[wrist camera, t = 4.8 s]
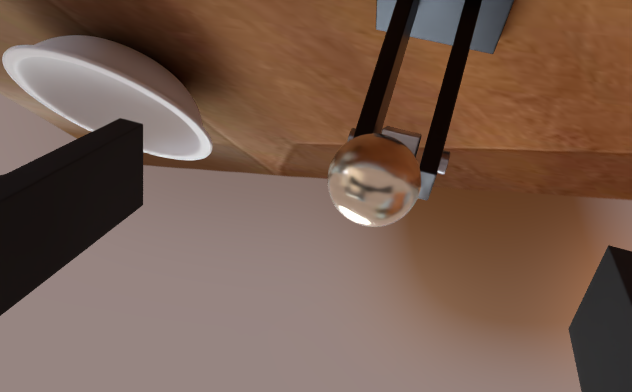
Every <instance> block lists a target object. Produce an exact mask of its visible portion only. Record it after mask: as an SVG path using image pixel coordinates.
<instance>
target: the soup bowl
mask: <svg viewBox="0 0 632 392" xmlns="http://www.w3.org/2000/svg"><path fill="white" fill-rule="evenodd" d="M2 61H3V65H4V68H5V69H6V71H7V73H8V74H9V75H10V77H11V78H12V79H13V80H14V81H15V82H16V83H17V84H18V85H19V86H20V87H21V88H22V89H24V90H25V91H26V92H27V93H28V94H30V95H31V96H32V97H34V98H35V99H36V100H38V101H39V102H40V103H42V104H43V105H45V106H46V107H48V108H49V109H51V110H53V111H54V112H56V113H57V114H59V115H61V116H62V117H64V118H66V119H68V120H70V121H71V122H73V123H75V124H77V125H79V126H81V127H83V128H85V129H87V130H89V131H91V132H93V131H95V130H97V129H99V128H101V127H103V126H105V125H107V124H109V123H111V122H113V121H115V120H117V119H119V118H122V119H126V120H130V121H134V122H138V123H141V124H143V152H145V153H149V154H153V155H157V156H161V157H166V158H171V159H178V160H199V159H203V158H205V157H207V156H208V155H209V154H210V153H211V151H212V147H213V144H212V140H211V138H210V136H209V134H208V133H207V131H206V130H205V129H204V127H203V124H202V119H201V115H200V112H199V110H198V107H197V105H196V103H195V101H194V100H193V98H192V96H191V95H190V93H189V92H188V90H187V89H186V88H185V86H184V85H183V84H182V83H181V82H180V81H179V80H178V79H177V78H176V77H175V76H174V75H173V74H172V73H171V72H169V71H168V70H167V69H166V68H164V67H163V66H162V65H160V64H159V63H157V62H156V61H154V60H152V59H151V58H149V57H147V56H146V55H144V54H142V53H140V52H138V51H136V50H134V49H132V48H129V47H127V46H125V45H122V44H119V43H116V42H113V41H110V40H107V39H103V38H98V37H93V36H84V35H69V36H60V37H55V38H51V39H48V40H45V41H42V42H39V43H37V44H35V45H18V46H13V47H11V48H9V49H7V50H6V51H5V53H4V54H3V58H2Z"/></svg>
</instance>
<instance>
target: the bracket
mask: <svg viewBox="0 0 632 392" xmlns="http://www.w3.org/2000/svg"><path fill="white" fill-rule="evenodd" d="M513 3H514V0H377V10H376V29H377V30H381V31H386V36H385V39H384V42H383V45H382V48H381V51H380V54H379V58H378V61H377V64H376V67H375V70H374V73H373V77H372V80H371V83H370V86H369V89H368V92H367V96H366V99H365V102H364V105H363V108H362V111H361V114H360V118H359V121H358V124H357V127H356V129H355V128H352V129H351V131H350V134H349V137H348V141H350V140H351V139H353V138H355V137H358V136H361V135H365V134H372V133H376V134H380V133H381V130H382V127H383V123H384V120H385V117H386V113H387V110H388V107H389V104H390V100H391V97H392V94H393V90H394V87H395V84H396V80H397V77H398V74H399V70H400V67H401V64H402V60H403V57H404V54H405V50H406V47H407V44H408V40H409V37H414V38H419V39H424V40H429V41H433V42H438V43H443V44H448V45H452V50H451V53H450V57H449V61H448V64H447V68H446V72H445V75H444V79H443V83H442V86H441V90H440V94H439V97H438V101H437V105H436V108H435V112H434V116H433V119H432V123H431V127H430V130H429V134H428V138H427V141H426V145H425V149H424V152H423V156H422V160H421V163H420V172H421V188H420V193H419V196H418V198H420V199H424V200H428V198H429V195H430V192H431V190H432V187H433V184H434V181H435V178H436V175H437V173H439V174H443V175H444V174H445V172H446V169H447V165H448V161H449V158H450V152H449V151H445V150H443V149H444V145H445V141H446V137H447V133H448V130H449V126H450V122H451V118H452V114H453V110H454V107H455V103H456V99H457V95H458V91H459V87H460V84H461V80H462V76H463V72H464V68H465V64H466V61H467V57H468V53H469V49H471V50H476V51H481V52H485V53H490V54H493V53H494V51H495V48H496V46H497V43H498V41H499V38H500V36H501V33H502V31H503V28H504V26H505V23H506V20H507V18H508V15H509V13H510V10H511V8H512V5H513ZM348 141H347V142H348Z"/></svg>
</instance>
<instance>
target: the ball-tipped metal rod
mask: <svg viewBox="0 0 632 392" xmlns="http://www.w3.org/2000/svg"><path fill="white" fill-rule="evenodd" d="M420 139H421V134H418V133H414V132H410V131H406V130H401V129H397V128H393V127H389V126H387V127H385V128H383V129H382V132H381V134H376V133H372V134H365V135H361V136H358V137H355V138H353V139H351V140H350V141H348V142H347V143H345V144H344V145H343V146H342V147H341V148H340V149H339V150H338V151H337V153H336V154H335V156H334V157H333V159H332V161H331V164H330V167H329V171H328V182H327V183H328V190H329V194H330V197H331V199H332V201H333V203H334V205H335V206H336V208H337V209H338V210H339V211H340V212H341V213H342V214H343V215H344V216H345V217H346V218H348V219H349V220H351V221H353V222H355V223H357V224H360V225H363V226H369V227H379V226H385V225H388V224H392V223H393V222H396V221H397V220H399V219H401V218H402V217H403V216H405V215H406V214H407V213H408V212H409V211H410V210H411V208H412V207H413V206H414V204H415V202H416V200H417V198H418V196H419V193H420V188H421V172H420V167H419V164H418V161H417V159H416V154H417V151H418V147H419V143H420Z"/></svg>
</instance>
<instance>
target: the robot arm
mask: <svg viewBox="0 0 632 392" xmlns="http://www.w3.org/2000/svg"><path fill="white" fill-rule="evenodd" d="M142 205H143V124H141V123H138V122H134V121H130V120H126V119H122V118H119V119H117V120H115V121H113V122H111V123H109V124H107V125H105V126H103V127H101V128H99V129H97V130H95V131H93V132H91V133H89V134H87V135H85V136H82V137H80V138H78V139H76V140H74V141H72V142H70V143H69V144H66V145H64V146H62V147H60V148H58V149H56V150H54V151H52V152H50V153H48V154H46V155H44V156H42V157H40V158H38V159H36V160H34V161H32V162H30V163H28V164H26V165H24V166H21V167H20V168H18V169H15V170H13V171H12V172H9V173H7V174H4V175H0V316H1V315H2V314H3V313H4V312H6V311H7V310H8V309H10V308H11V307H12V306H14V305H15V304H16V303H17V302H19V301H20V300H21V299H22V298H24V297H25V296H26V295H28V294H29V293H30V292H32V291H33V290H34V289H35V288H37V287H38V286H39V285H40V284H42V283H43V282H44V281H46V280H47V279H48V278H50V277H51V276H52V275H53V274H55V273H56V272H57V271H58V270H60V269H61V268H62V267H64V266H65V265H66V264H68V263H69V262H70V261H71V260H73V259H74V258H75V257H77V256H78V255H79V254H80V253H82V252H83V251H84V250H85V249H87V248H88V247H89V246H91V245H92V244H93V243H95V242H96V241H97V240H98V239H100V238H101V237H102V236H104V235H105V234H106V233H107V232H108V231H110V230H111V229H112V228H114V227H115V226H116V225H118V224H119V223H120V222H122V221H123V220H124V219H126V218H127V217H128V216H129V215H131V214H132V213H133V212H135V211H136V210H137V209H138V208H140V207H141V206H142ZM569 333H570V338H571V343H572V347H573V352H574V357H575V362H576V367H577V372H578V376H579V381H580V386H581V391H582V392H632V252H631V251H627V250H624V249H620V248H616V247H612V246H608V248H607V249H606V252H605V254H604V256H603V258H602V260H601V262H600V264H599V266H598V268H597V270H596V273H595V275H594V277H593V279H592V281H591V283H590V285H589V287H588V289H587V291H586V293H585V296H584V298H583V300H582V302H581V304H580V306H579V308H578V310H577V312H576V314H575V316H574V318H573V320H572V323H571V325H570V327H569Z"/></svg>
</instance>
